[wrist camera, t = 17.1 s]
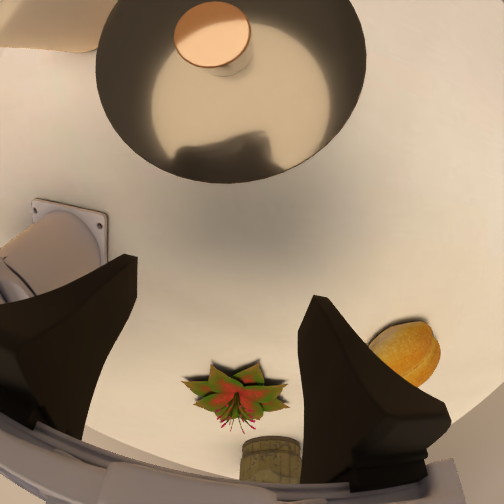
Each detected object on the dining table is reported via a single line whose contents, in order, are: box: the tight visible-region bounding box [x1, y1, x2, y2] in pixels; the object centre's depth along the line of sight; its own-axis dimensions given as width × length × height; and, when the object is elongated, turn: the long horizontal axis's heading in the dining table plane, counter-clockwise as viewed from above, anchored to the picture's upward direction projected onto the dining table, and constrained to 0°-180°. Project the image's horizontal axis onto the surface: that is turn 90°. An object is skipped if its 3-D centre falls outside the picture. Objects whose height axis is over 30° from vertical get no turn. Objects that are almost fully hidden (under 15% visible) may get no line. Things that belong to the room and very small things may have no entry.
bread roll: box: [369, 321, 441, 387], centre depth 26 cm, size 8×9×4 cm
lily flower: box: [181, 363, 290, 433], centre depth 29 cm, size 12×12×5 cm
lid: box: [96, 0, 366, 184], centre depth 10 cm, size 13×13×4 cm
